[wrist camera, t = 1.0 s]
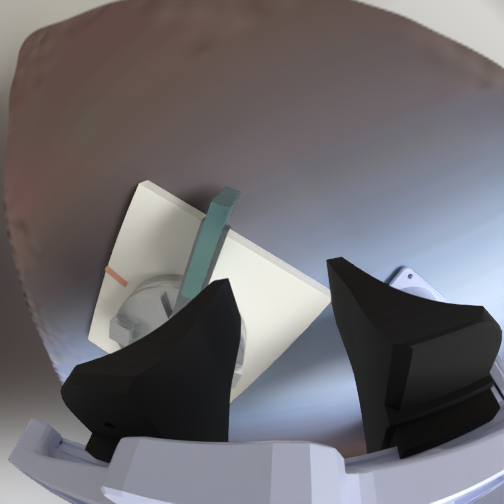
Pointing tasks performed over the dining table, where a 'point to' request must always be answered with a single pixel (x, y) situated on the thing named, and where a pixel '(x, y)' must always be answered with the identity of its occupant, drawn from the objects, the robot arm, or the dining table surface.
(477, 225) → the dining table surface
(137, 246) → the base plate
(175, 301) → the teal elongated tool
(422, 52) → the dining table surface
